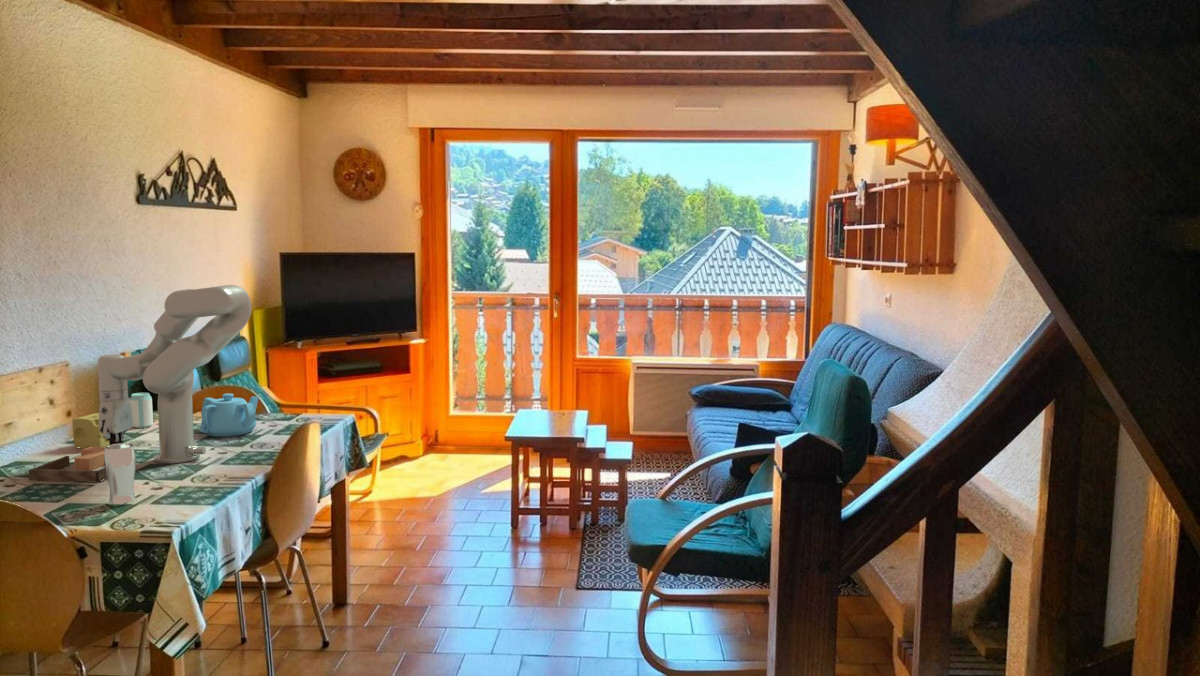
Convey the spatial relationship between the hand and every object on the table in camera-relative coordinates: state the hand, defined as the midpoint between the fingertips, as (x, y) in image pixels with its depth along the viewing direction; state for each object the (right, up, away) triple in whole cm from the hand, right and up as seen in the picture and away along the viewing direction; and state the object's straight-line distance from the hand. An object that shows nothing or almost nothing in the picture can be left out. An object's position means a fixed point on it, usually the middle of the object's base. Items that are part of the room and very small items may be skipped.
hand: (116, 453), depth 254 cm
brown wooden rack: (0, -4, -16) cm, 17 cm away
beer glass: (+26, -7, -42) cm, 50 cm away
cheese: (-15, 0, +16) cm, 22 cm away
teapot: (+18, +2, +38) cm, 42 cm away
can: (-17, +3, +44) cm, 47 cm away
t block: (-1, -3, -8) cm, 9 cm away
